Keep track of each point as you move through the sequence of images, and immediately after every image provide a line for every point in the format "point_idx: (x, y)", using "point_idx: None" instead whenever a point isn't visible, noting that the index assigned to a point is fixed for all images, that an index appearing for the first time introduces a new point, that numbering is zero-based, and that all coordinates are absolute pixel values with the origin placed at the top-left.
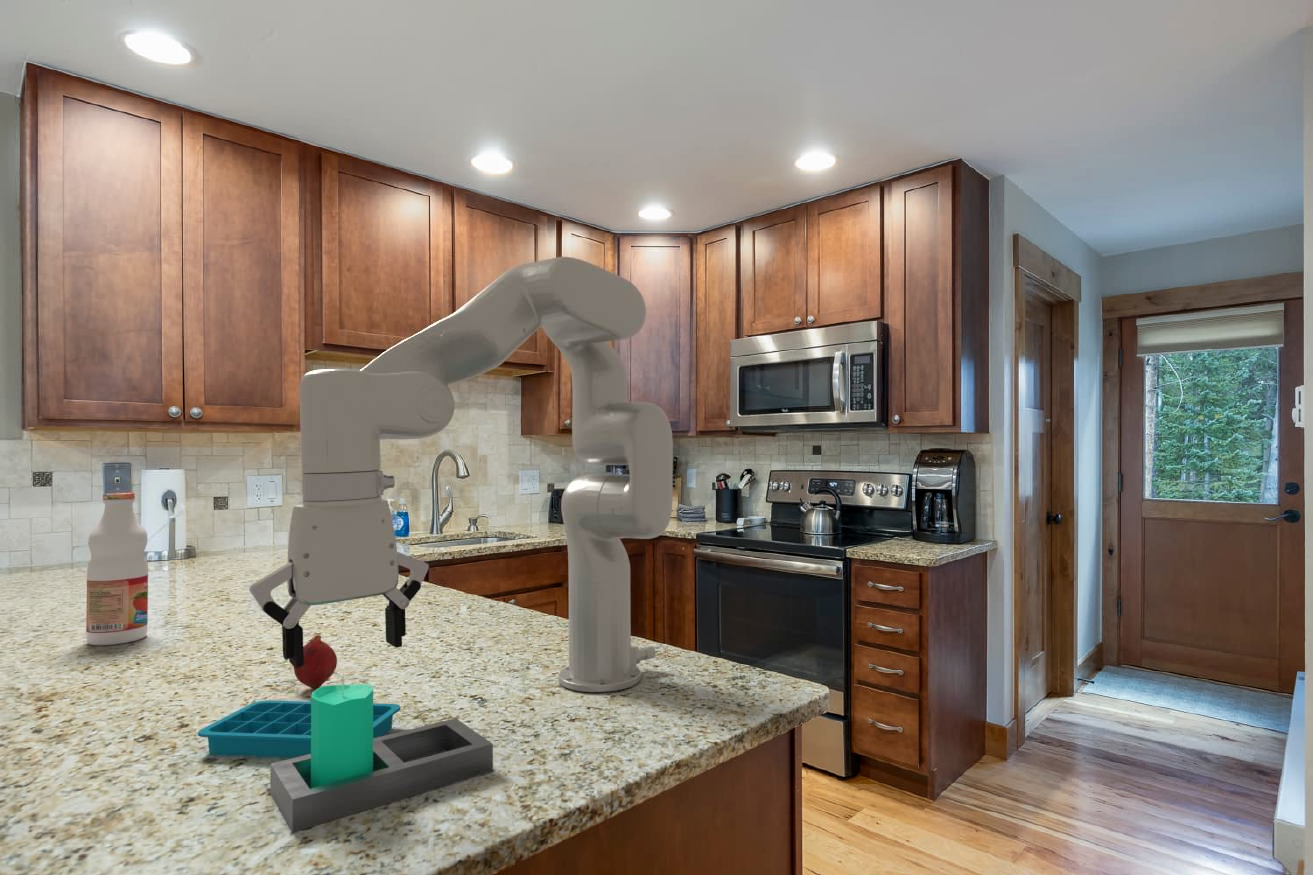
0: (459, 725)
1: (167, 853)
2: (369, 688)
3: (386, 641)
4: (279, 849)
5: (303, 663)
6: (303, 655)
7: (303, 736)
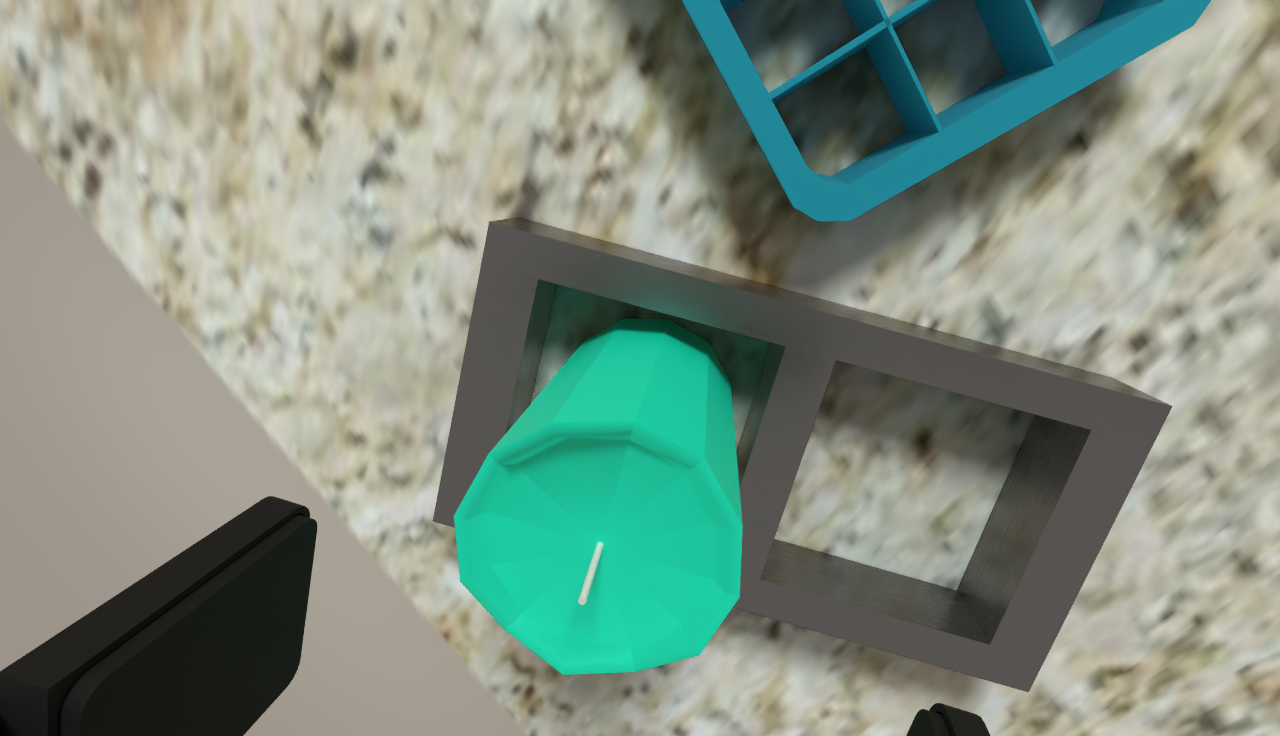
0: (1110, 479)
1: (237, 335)
2: (713, 603)
3: (920, 710)
4: (416, 526)
5: (284, 687)
6: (254, 720)
7: (706, 15)
